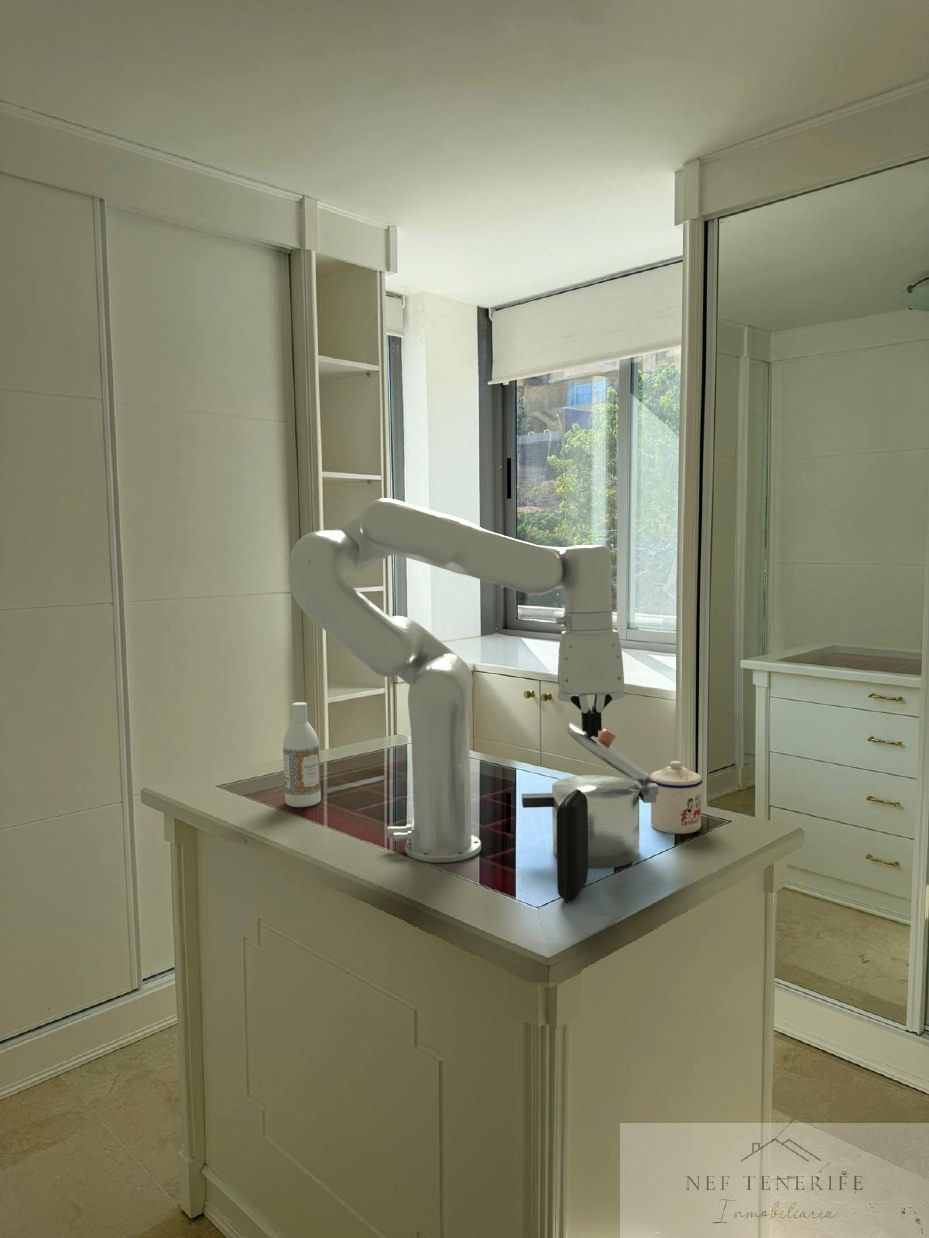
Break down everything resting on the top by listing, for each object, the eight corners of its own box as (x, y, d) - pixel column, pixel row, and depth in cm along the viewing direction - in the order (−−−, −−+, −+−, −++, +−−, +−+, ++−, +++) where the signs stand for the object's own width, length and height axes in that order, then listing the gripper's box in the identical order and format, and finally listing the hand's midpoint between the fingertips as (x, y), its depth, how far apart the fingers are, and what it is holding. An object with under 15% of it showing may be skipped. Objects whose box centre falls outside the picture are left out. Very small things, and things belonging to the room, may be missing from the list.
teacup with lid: (690, 838, 152) (690, 771, 150) (640, 828, 157) (640, 764, 156) (715, 819, 161) (716, 756, 160) (668, 811, 167) (668, 750, 165)
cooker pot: (527, 870, 139) (525, 795, 138) (519, 839, 153) (518, 771, 151) (662, 866, 139) (662, 791, 138) (643, 836, 153) (643, 767, 152)
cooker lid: (572, 740, 136) (584, 723, 136) (560, 720, 151) (570, 705, 151) (658, 796, 137) (670, 779, 137) (638, 771, 152) (648, 755, 152)
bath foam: (298, 810, 172) (294, 708, 170) (278, 803, 177) (274, 703, 175) (327, 802, 177) (324, 702, 175) (307, 795, 182) (304, 698, 180)
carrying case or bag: (572, 877, 135) (571, 783, 134) (592, 880, 134) (591, 784, 133) (554, 905, 125) (553, 803, 124) (576, 908, 124) (575, 805, 123)
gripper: (544, 626, 138) (548, 742, 140) (640, 622, 139) (643, 738, 140) (539, 622, 146) (543, 732, 148) (630, 618, 146) (633, 728, 148)
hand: (591, 735), depth 144 cm, fingers closed
